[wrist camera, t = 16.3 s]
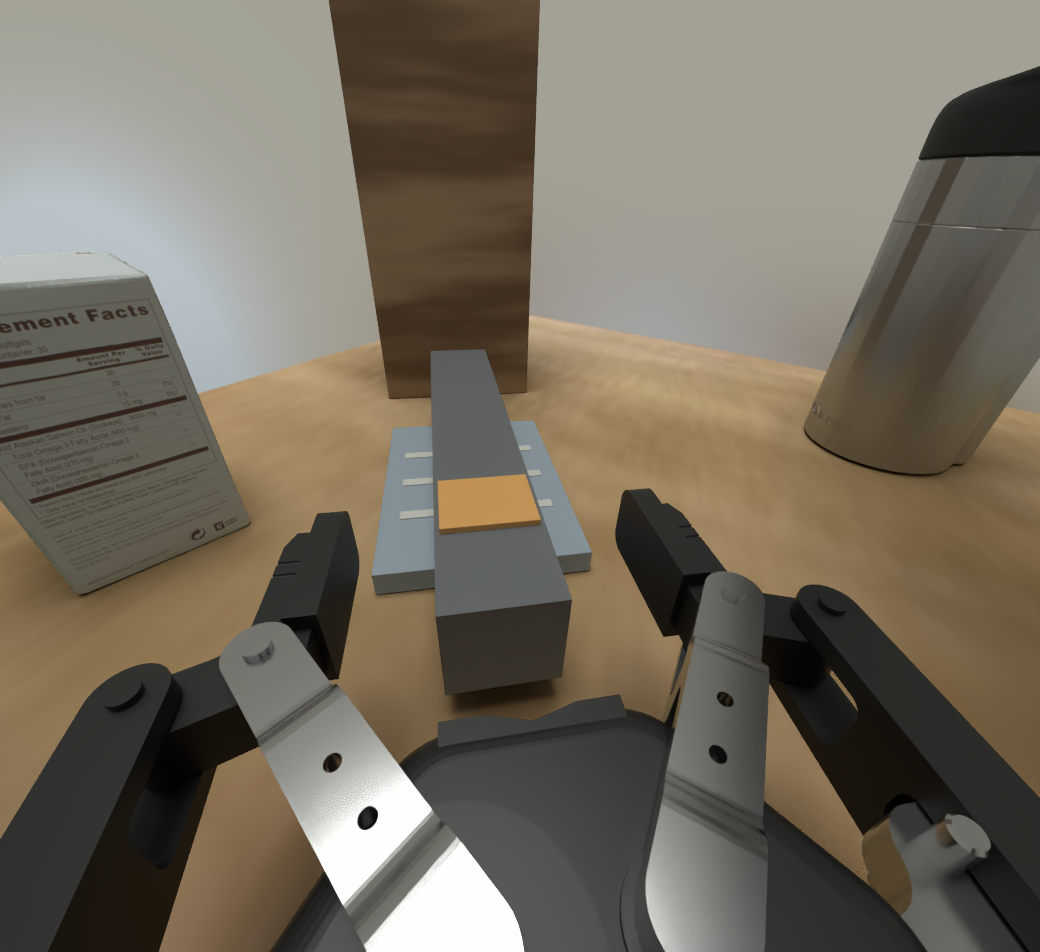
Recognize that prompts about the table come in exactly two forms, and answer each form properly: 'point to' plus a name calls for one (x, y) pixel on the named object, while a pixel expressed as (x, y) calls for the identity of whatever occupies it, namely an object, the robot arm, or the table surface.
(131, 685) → the robot arm
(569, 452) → the table surface
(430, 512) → the board
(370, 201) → the walnut stand
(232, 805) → the table surface
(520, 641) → the bar
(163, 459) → the supplement box
